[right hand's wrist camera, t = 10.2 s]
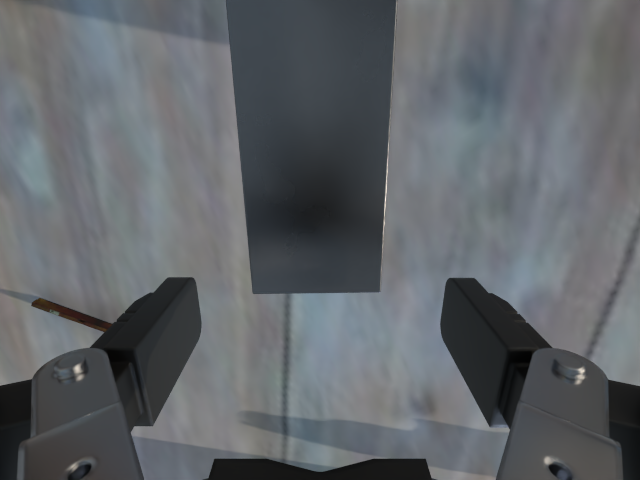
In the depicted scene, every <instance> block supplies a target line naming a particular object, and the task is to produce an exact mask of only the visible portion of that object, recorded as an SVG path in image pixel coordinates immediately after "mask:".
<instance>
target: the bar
mask: <svg viewBox="0 0 640 480" xmlns="http://www.w3.org/2000/svg"><path fill="white" fill-rule="evenodd" d="M397 2H398V0H226V7H227V18H228V29H229V40H230V51H231V62H232V73H233V83H234V94H235V105H236V116H237V127H238V138H239V149H240V160H241V171H242V182H243V193H244V203H245V214H246V225H247V236H248V247H249V258H250V269H251V280H252V291H253V294H279V293H357V292H380V291H381V277H382V260H383V243H384V226H385V208H386V191H387V174H388V157H389V140H390V123H391V105H392V88H393V71H394V54H395V37H396V20H397Z"/></svg>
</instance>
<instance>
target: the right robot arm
mask: <svg viewBox="0 0 640 480" xmlns="http://www.w3.org/2000/svg"><path fill="white" fill-rule="evenodd" d="M440 326H441V334H442V338H443V341H444V343H445V345H446V346H447V348H448V350H449V352H450V354H451V356H452V358H453V359H454V361H455V363H456V365H457V367H458V369H459V371H460V372H461V374H462V376H463V378H464V380H465V382H466V384H467V386H468V387H469V389H470V391H471V393H472V395H473V397H474V399H475V400H476V402H477V404H478V406H479V408H480V410H481V412H482V413H483V415H484V417H485V419H486V421H487V423H488V425H489V426H490V427H509V429H510V432H509V436H508V439H507V443H506V446H505V450H504V453H503V456H502V460H501V463H500V467H499V470H498V474H497V477H496V480H640V386H636V385H631V384H626V383H621V382H616V381H611V380H608V379H607V377H606V375H605V373H604V372H603V371H602V370H601V369H600V368H599V367H598V366H597V365H595V364H594V363H593V362H591V361H589V360H588V359H586V358H584V357H582V356H580V355H578V354H575V353H572V352H569V351H566V350H562V349H556V348H552V347H551V346H550V345H549V344H548V343H547V342H546V341H545V340H544V339H543V338H542V337H541V336H540V335H539V334H538V333H537V332H536V331H535V330H534V329H533V327H532V326H531V325H530V324H529V323H526V320H525V319H524V318H523V317H522V316H521V315H520V314H517V311H516V310H515V309H514V308H513V307H512V306H511V305H510V304H509V303H508V302H507V301H505V300H503V299H501V298H500V297H498V296H496V295H494V294H493V293H488V292H487V291H486V290H485V289H484V288H483V287H482V286H481V284H480V283H479V282H478V281H477V280H476V279H475V278H449V279H448V280H447V282H446V286H445V293H444V300H443V307H442V314H441V323H440ZM200 333H201V315H200V308H199V301H198V293H197V286H196V282H195V280H194V278H192V277H169V278H167V279H166V280H165V281H164V282H163V283H162V284H161V285H160V286H159V287H158V288H157V290H156V291H155V292H154V293H149V294H147V295H145V296H143V297H142V298H140V299H138V300H136V301H135V302H134V303H133V304H132V305H131V306H130V307H129V308H128V309H127V310H126V311H125V313H123V314H122V315H121V316H120V317H119V318H118V319H117V322H114V323H113V324H112V325H111V326H110V327H109V328H108V329H107V330H106V332H105V333H104V334H103V335H102V336H101V337H100V338H99V339H98V340H97V341H96V342H95V343H94V344H93V345H92V346H91V347H90V348H84V349H78V350H74V351H71V352H68V353H65V354H62V355H60V356H58V357H56V358H54V359H52V360H51V361H49V362H47V363H46V364H45V365H43V366H42V367H41V368H40V369H39V370H38V371H37V372H36V373H35V375H34V377H33V379H31V380H26V381H21V382H16V383H11V384H7V385H2V386H0V480H144V477H143V474H142V470H141V467H140V463H139V460H138V457H137V453H136V450H135V446H134V443H133V439H132V436H131V431H132V429H133V427H134V426H153V425H154V423H155V421H156V419H157V417H158V415H159V413H160V411H161V410H162V408H163V406H164V404H165V402H166V400H167V398H168V396H169V395H170V393H171V391H172V389H173V387H174V385H175V383H176V381H177V379H178V378H179V376H180V374H181V372H182V370H183V368H184V366H185V364H186V363H187V361H188V359H189V357H190V355H191V353H192V351H193V349H194V347H195V346H196V344H197V342H198V340H199V337H200ZM204 480H436V479H433V478H431V475H430V472H429V469H428V465H427V462H426V459H371V460H367V461H363V462H360V463H356V464H352V465H348V466H344V467H340V468H337V469H333V470H329V471H325V472H315V471H311V470H307V469H303V468H300V467H296V466H292V465H288V464H284V463H280V462H277V461H273V460H269V459H214V462H213V465H212V469H211V472H210V475H209V478H207V479H204Z"/></svg>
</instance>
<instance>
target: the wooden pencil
mask: <svg viewBox="0 0 640 480" xmlns="http://www.w3.org/2000/svg"><path fill="white" fill-rule="evenodd" d="M31 306H33V307H36V308H38V309H41V310H44V311H47V312H50V313H52V314H55V315H58V316H61V317H63V318H66V319H69V320H72V321H75V322H78V323H81V324H84V325H86V326H89V327H91V328H94V329H98V330H100V331H103V332H106V330H107V329H108V328H109V327H110V326H111V325H112V324H110V323H107V322H104V321H102V320H99V319H96V318H93V317H91V316H88V315H85V314H82V313H80V312H77V311H74V310H72V309H69V308H66V307H63V306H60V305H58V304H55V303H52V302H49V301H47V300H44V299H41V298H39V299H38V300H35V301H34V302H32V305H31Z"/></svg>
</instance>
